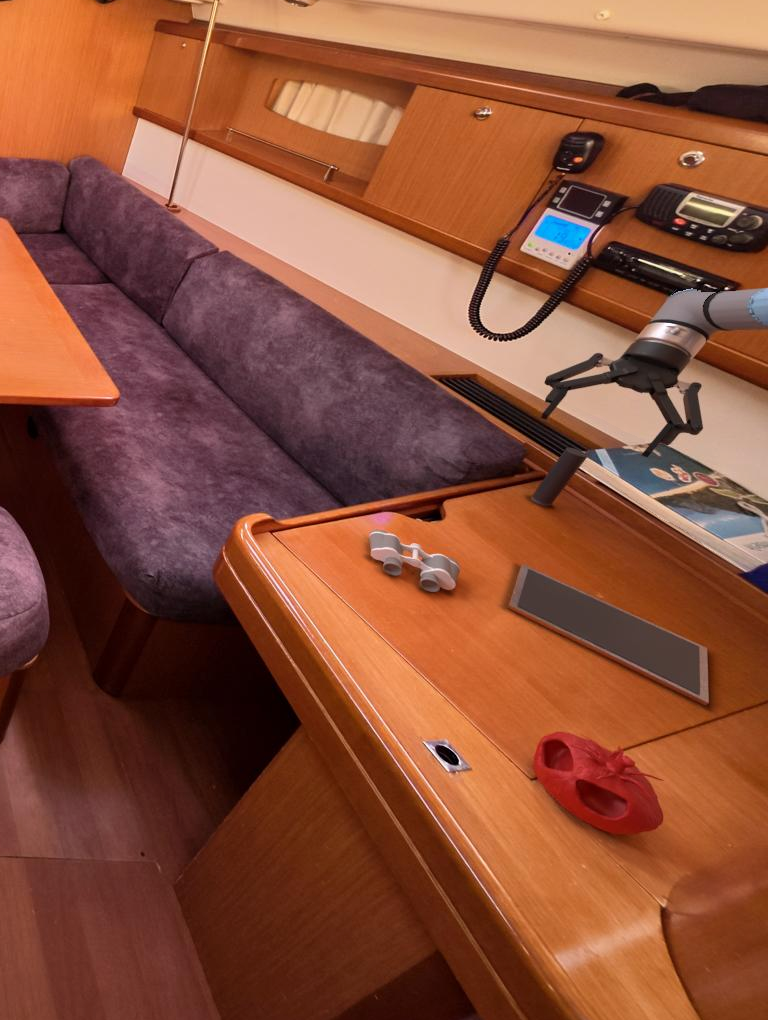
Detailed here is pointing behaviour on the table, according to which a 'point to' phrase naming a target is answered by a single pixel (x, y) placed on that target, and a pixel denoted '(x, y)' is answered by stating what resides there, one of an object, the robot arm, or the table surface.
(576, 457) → the dark gray cylinder
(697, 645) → the tablet
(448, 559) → the binoculars
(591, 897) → the table surface
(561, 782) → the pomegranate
